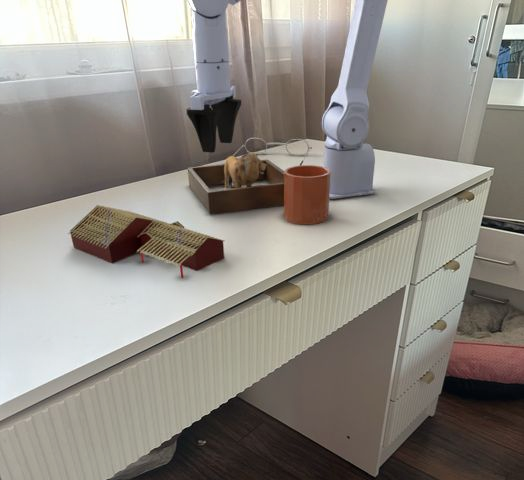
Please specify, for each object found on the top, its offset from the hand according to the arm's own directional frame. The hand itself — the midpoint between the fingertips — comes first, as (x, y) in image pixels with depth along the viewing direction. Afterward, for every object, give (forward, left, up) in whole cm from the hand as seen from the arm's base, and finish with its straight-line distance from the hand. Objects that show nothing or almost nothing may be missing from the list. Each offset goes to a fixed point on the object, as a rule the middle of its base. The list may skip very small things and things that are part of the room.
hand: (217, 147), depth 93 cm
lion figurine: (-5, -3, -10) cm, 12 cm away
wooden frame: (-5, -3, -10) cm, 12 cm away
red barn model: (+17, +20, -10) cm, 28 cm away
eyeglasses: (-18, -24, -10) cm, 32 cm away
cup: (-12, +14, -10) cm, 21 cm away
